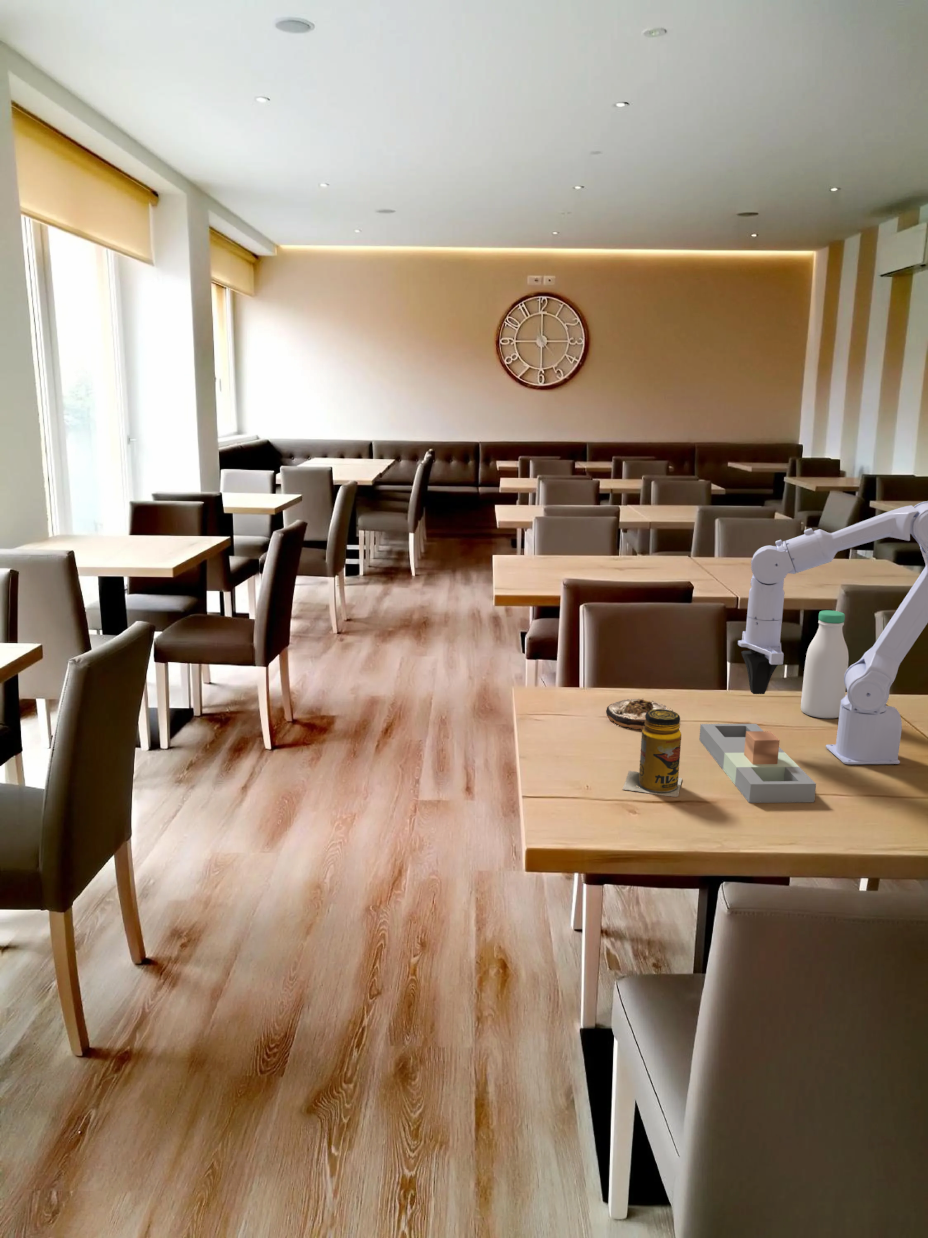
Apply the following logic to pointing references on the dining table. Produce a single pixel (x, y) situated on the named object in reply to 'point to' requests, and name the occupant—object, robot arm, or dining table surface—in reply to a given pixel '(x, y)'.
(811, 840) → the dining table surface
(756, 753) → the block
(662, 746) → the condiment
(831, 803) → the dining table surface
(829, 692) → the milk bottle
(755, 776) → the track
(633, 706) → the plate of food
